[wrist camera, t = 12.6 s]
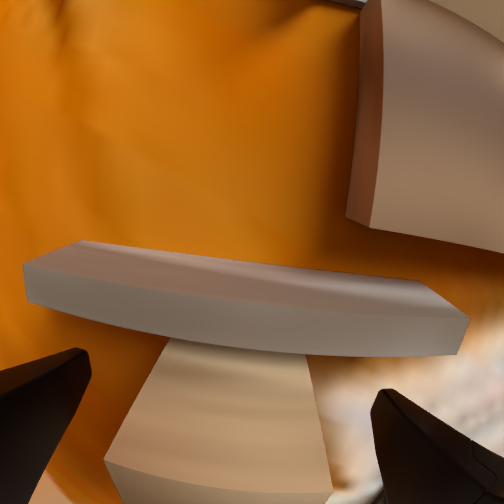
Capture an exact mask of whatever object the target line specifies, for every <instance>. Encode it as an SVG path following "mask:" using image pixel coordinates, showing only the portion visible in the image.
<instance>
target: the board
mask: <svg viewBox="0 0 504 504" xmlns="http://www.w3.org/2000/svg"><path fill="white" fill-rule="evenodd" d="M359 16H360V54H359V84H358V102H357V116H356V129H355V140H354V150H353V159H352V168H351V177H350V184H349V192H348V199H347V206H346V213H345V217H346V218H349V219H351V220H353V221H355V222H358V223H360V224H362V225H364V226H367V227H369V228H374V229H380V230H386V231H392V232H398V233H403V234H409V235H415V236H420V237H425V238H431V239H436V240H441V241H446V242H452V243H457V244H462V245H467V246H471V247H476V248H481V249H486V250H490V251H495V252H499V253H504V43H503V42H502V41H500V40H499V39H497V38H496V37H494V36H493V35H491V34H490V33H488V32H487V31H485V30H483V29H482V28H480V27H479V26H477V25H475V24H474V23H472V22H470V21H468V20H467V19H465V18H463V17H461V16H459V15H458V14H456V13H454V12H452V11H450V10H448V9H446V8H444V7H442V6H440V5H438V4H436V3H434V2H432V1H429V0H367V2H366V3H365V5H364V7H363V8H362V10H361V12H360V13H359Z"/></svg>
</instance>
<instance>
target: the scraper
mask: <svg viewBox="0 0 504 504" xmlns="http://www.w3.org/2000/svg"><path fill="white" fill-rule="evenodd" d="M23 272H24V281H25V288H26V295H27V301H28V302H31V303H34V304H37V305H40V306H44V307H47V308H50V309H54V310H57V311H60V312H64V313H67V314H71V315H75V316H78V317H82V318H86V319H90V320H94V321H98V322H102V323H106V324H110V325H114V326H118V327H123V328H127V329H132V330H137V331H141V332H146V333H151V334H156V335H161V336H167V337H170V339H169V341H168V343H167V344H166V346H165V348H164V350H163V351H162V353H161V355H160V357H159V358H158V360H157V362H156V364H155V365H154V367H153V369H152V371H151V373H150V374H149V376H148V378H147V380H146V381H145V383H144V385H143V387H142V389H141V390H140V392H139V394H138V396H137V398H136V399H135V401H134V403H133V405H132V407H131V408H130V410H129V412H128V414H127V416H126V418H125V419H124V421H123V423H122V425H121V427H120V429H119V431H118V432H117V434H116V436H115V438H114V440H113V442H112V444H111V446H110V447H109V449H108V451H107V453H106V455H105V457H104V459H103V460H104V463H105V465H106V467H107V470H108V472H109V474H110V476H111V479H112V481H113V483H114V485H115V487H116V489H117V491H118V493H119V495H120V497H121V499H122V501H123V503H124V504H325V503H326V501H327V500H328V498H329V497H330V496H331V494H332V493H333V488H332V482H331V477H330V471H329V466H328V461H327V455H326V450H325V445H324V440H323V435H322V430H321V425H320V420H319V415H318V410H317V406H316V401H315V396H314V391H313V387H312V382H311V377H310V373H309V368H308V364H307V359H306V355H305V354H311V355H328V356H352V357H421V356H443V355H457V352H458V350H459V348H460V345H461V343H462V340H463V337H464V335H465V332H466V329H467V327H468V324H469V321H470V318H469V317H468V316H467V315H465V314H464V313H463V312H461V311H460V310H459V309H457V308H456V307H455V306H453V305H452V304H451V303H449V302H448V301H447V300H445V299H444V298H442V297H441V296H440V295H438V294H437V293H436V292H434V291H433V290H431V289H430V288H429V287H427V286H426V285H424V284H423V283H422V282H420V281H416V280H407V279H397V278H388V277H379V276H370V275H361V274H352V273H343V272H334V271H325V270H316V269H307V268H299V267H290V266H282V265H273V264H265V263H256V262H248V261H240V260H232V259H223V258H215V257H207V256H199V255H191V254H183V253H175V252H167V251H160V250H152V249H144V248H136V247H129V246H121V245H114V244H106V243H99V242H91V241H84V240H81V241H78V242H76V243H73V244H71V245H68V246H65V247H63V248H60V249H58V250H55V251H52V252H50V253H47V254H45V255H42V256H40V257H38V258H35V259H33V260H30V261H28V262H25V263H23Z"/></svg>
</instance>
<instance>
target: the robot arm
mask: <svg viewBox="0 0 504 504" xmlns="http://www.w3.org/2000/svg"><path fill="white" fill-rule="evenodd" d="M91 375H92V370H91V365H90V360H89V355H88V352H87V351H86V350H83V349H80V348H72V349H69V350H66V351H63V352H60V353H57V354H54V355H50V356H47V357H44V358H41V359H38V360H35V361H31V362H28V363H25V364H22V365H18V366H15V367H12V368H8V369H5V370H2V371H0V504H28V503H29V501H30V498H31V496H32V494H33V492H34V490H35V488H36V486H37V484H38V482H39V480H40V478H41V476H42V474H43V472H44V470H45V468H46V466H47V464H48V462H49V460H50V458H51V456H52V455H53V453H54V451H55V449H56V447H57V445H58V443H59V442H60V440H61V438H62V436H63V434H64V433H65V431H66V429H67V427H68V425H69V424H70V422H71V420H72V418H73V416H74V415H75V413H76V411H77V408H78V406H79V404H80V401H81V399H82V397H83V395H84V392H85V390H86V388H87V386H88V383H89V381H90V379H91ZM370 415H371V422H372V429H373V436H374V444H375V451H376V456H377V460H378V464H379V468H380V472H381V477H382V481H383V485H384V489H385V490H384V491H383V492H382V494H381V495H380V496H379V497H378V498H377V499H376V500H375V502H374V503H373V504H504V458H503V457H501V456H499V455H497V454H495V453H493V452H491V451H490V450H488V449H486V448H484V447H483V446H481V445H479V444H478V443H476V442H475V441H473V440H471V439H470V438H468V437H466V436H465V435H463V434H462V433H460V432H458V431H457V430H455V429H454V428H452V427H451V426H449V425H447V424H446V423H444V422H443V421H441V420H440V419H438V418H437V417H435V416H433V415H432V414H430V413H429V412H427V411H426V410H424V409H423V408H421V407H420V406H418V405H417V404H415V403H414V402H412V401H411V400H409V399H408V398H406V397H405V396H403V395H402V394H400V393H399V392H397V391H396V390H394V389H381V390H380V391H379V392H378V394H377V397H376V399H375V401H374V403H373V406H372V408H371V412H370Z"/></svg>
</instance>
